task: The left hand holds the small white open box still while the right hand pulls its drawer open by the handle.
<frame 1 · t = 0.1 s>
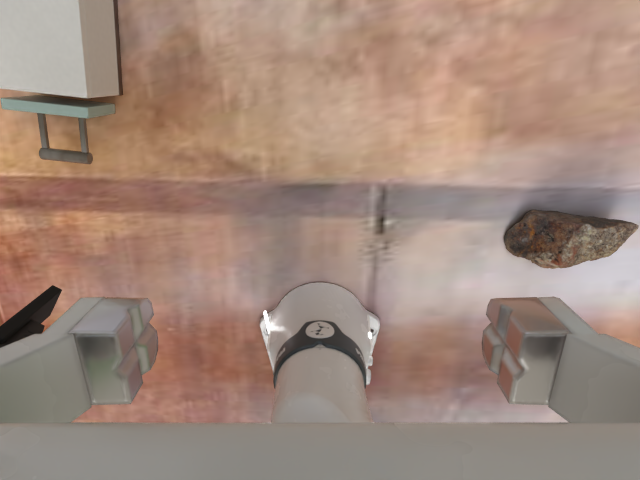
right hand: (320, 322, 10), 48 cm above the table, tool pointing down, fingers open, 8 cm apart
white open box: (72, 10, 50), on the table
rock: (554, 232, 61), on the table
drawer: (57, 63, 48), point 4 cm above the table, slide at 1.1 cm
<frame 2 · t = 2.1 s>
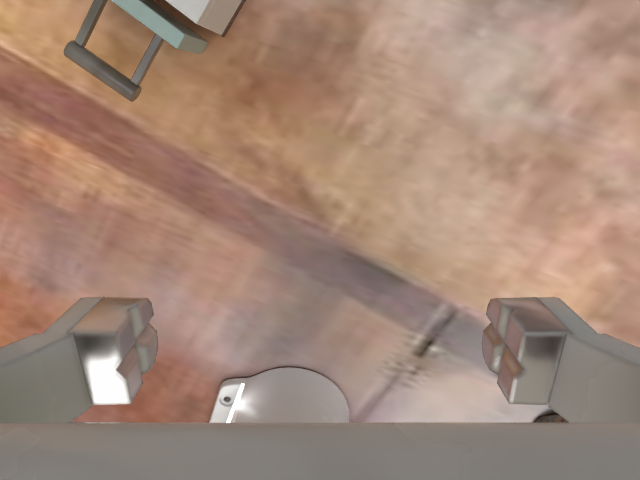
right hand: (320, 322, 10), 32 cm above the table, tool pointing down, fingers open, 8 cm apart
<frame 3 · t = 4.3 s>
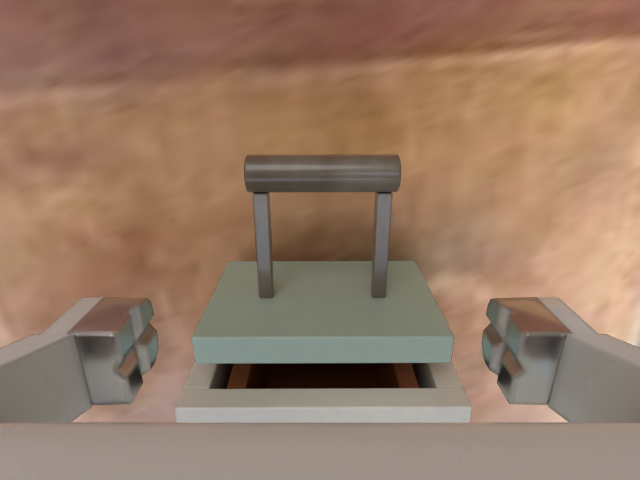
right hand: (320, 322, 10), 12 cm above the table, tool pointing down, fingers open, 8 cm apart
white open box: (321, 416, 26), on the table, touching left hand
drawer: (322, 390, 20), point 4 cm above the table, slide at 1.1 cm
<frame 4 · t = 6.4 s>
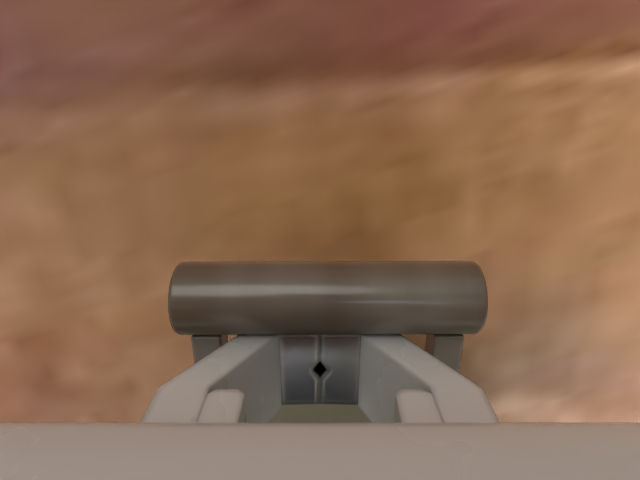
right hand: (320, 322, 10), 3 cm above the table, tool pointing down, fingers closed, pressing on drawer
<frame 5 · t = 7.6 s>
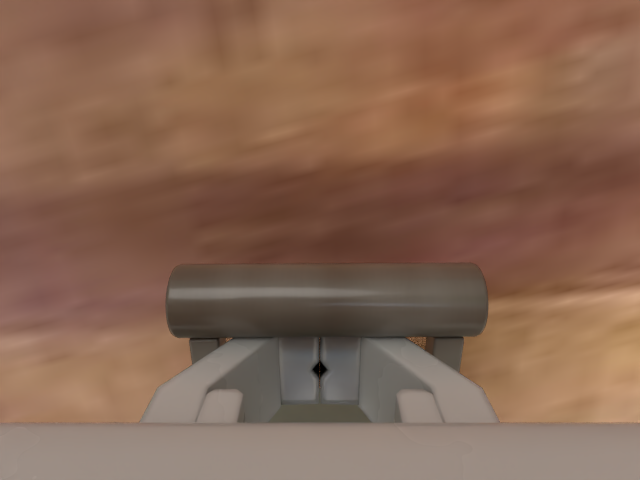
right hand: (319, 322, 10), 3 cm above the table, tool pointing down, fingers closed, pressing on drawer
when the left hand's fingers open (4 cm above the table, at t = 9.4 s): white open box stays where it is, on the table.
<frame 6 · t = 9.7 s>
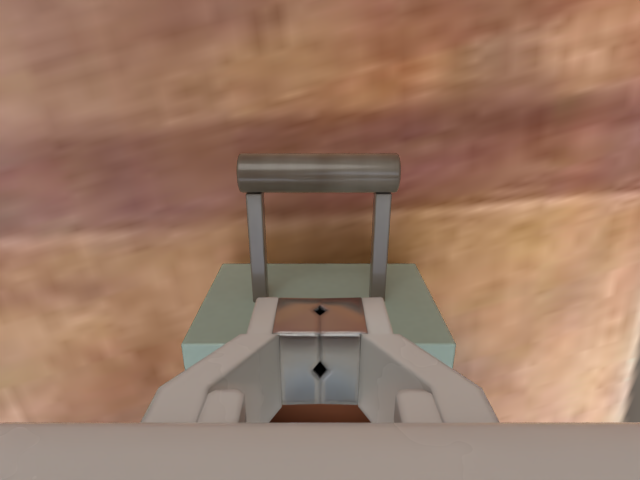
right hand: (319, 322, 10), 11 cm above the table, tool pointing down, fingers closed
drawer: (318, 397, 20), point 4 cm above the table, slide at 8.1 cm
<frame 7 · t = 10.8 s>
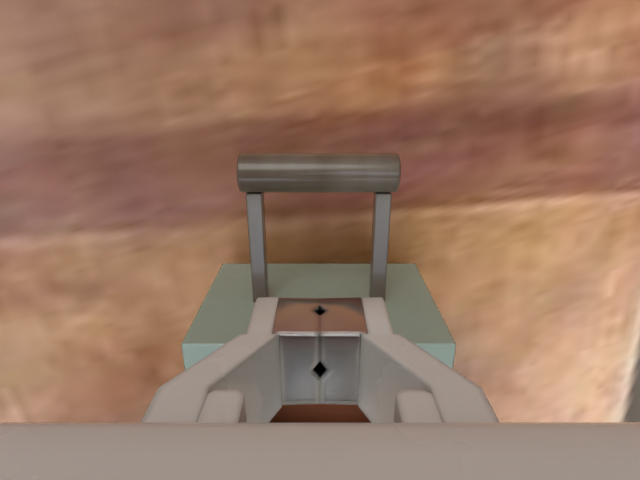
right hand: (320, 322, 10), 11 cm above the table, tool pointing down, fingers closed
drawer: (318, 397, 20), point 4 cm above the table, slide at 8.1 cm
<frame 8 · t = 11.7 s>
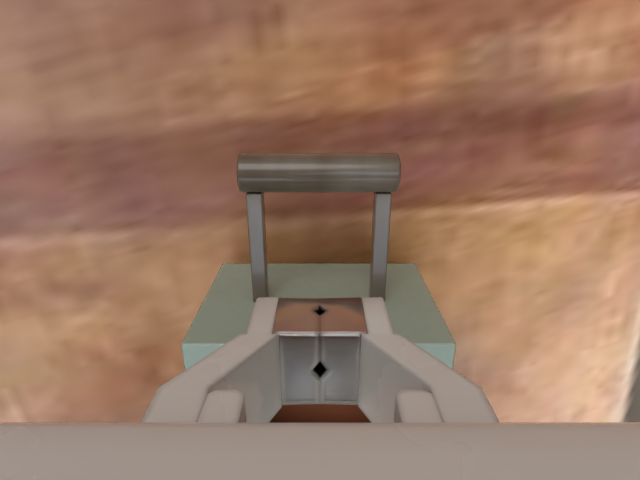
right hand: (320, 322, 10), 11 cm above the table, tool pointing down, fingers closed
drawer: (319, 397, 20), point 4 cm above the table, slide at 8.1 cm
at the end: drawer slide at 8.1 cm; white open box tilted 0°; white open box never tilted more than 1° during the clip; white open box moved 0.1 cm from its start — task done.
